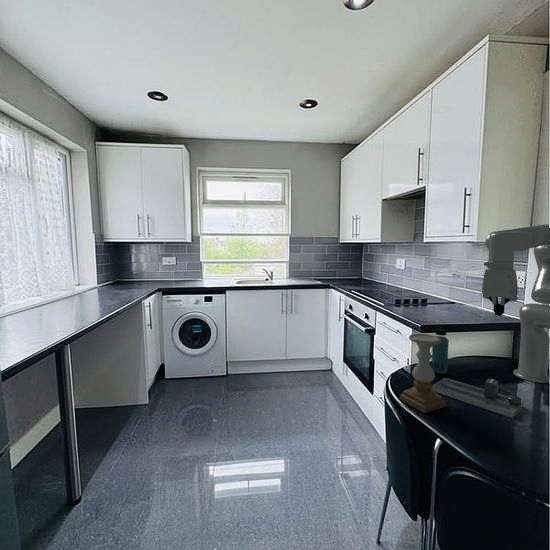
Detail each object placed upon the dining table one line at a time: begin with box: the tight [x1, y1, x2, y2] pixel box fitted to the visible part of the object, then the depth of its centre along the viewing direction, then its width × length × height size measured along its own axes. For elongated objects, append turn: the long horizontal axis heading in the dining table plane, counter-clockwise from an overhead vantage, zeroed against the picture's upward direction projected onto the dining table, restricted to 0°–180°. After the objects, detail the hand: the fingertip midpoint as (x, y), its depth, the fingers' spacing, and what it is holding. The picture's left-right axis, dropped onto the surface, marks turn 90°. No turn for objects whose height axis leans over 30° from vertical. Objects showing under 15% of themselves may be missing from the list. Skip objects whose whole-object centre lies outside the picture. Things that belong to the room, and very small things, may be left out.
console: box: [431, 377, 524, 420], centre depth 115 cm, size 12×26×4 cm, turn 40°
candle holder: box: [399, 333, 447, 414], centre depth 111 cm, size 11×11×24 cm
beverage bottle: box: [430, 328, 450, 374], centre depth 136 cm, size 6×7×20 cm
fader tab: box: [483, 378, 499, 400], centre depth 111 cm, size 4×3×6 cm
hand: (498, 314), depth 116 cm, fingers closed
